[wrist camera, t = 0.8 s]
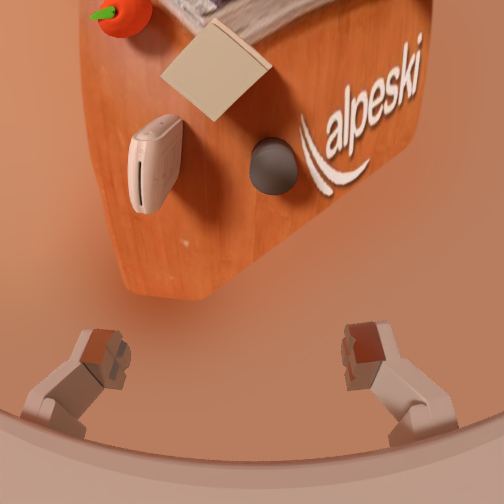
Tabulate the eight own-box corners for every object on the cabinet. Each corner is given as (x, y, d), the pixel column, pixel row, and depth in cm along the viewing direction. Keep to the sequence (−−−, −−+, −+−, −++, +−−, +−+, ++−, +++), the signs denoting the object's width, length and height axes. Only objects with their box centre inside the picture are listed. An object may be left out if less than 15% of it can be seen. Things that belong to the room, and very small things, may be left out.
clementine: (105, 41, 31) (79, 44, 26) (107, -2, 27) (81, -6, 21) (158, 35, 31) (138, 34, 26) (161, -11, 27) (141, -19, 22)
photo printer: (156, 111, 38) (120, 138, 29) (186, 114, 39) (158, 141, 29) (154, 176, 45) (123, 219, 35) (180, 179, 45) (157, 224, 35)
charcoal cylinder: (272, 128, 40) (274, 141, 35) (302, 157, 42) (307, 174, 37) (242, 157, 43) (239, 173, 38) (272, 183, 45) (273, 203, 40)
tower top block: (216, 24, 27) (210, 22, 24) (267, 68, 31) (267, 70, 27) (170, 73, 31) (159, 76, 28) (219, 114, 34) (214, 122, 31)
